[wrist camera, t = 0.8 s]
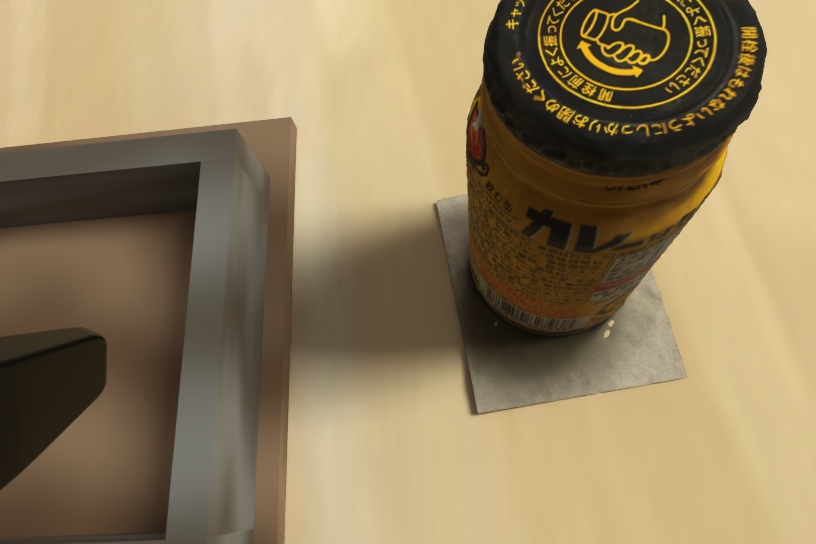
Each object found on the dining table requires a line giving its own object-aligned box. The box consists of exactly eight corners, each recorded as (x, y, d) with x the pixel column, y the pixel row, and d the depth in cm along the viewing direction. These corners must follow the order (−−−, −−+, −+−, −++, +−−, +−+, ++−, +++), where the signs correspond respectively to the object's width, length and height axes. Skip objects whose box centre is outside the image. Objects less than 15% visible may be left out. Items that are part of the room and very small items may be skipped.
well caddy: (280, 662, 18) (224, 713, 14) (-170, 668, 20) (-334, 716, 16) (296, 127, 25) (261, 61, 21) (-40, 162, 27) (-131, 107, 23)
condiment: (616, 167, 23) (747, -131, 12) (686, 378, 20) (948, 247, 9) (436, 203, 23) (396, -53, 12) (477, 414, 20) (475, 333, 9)
